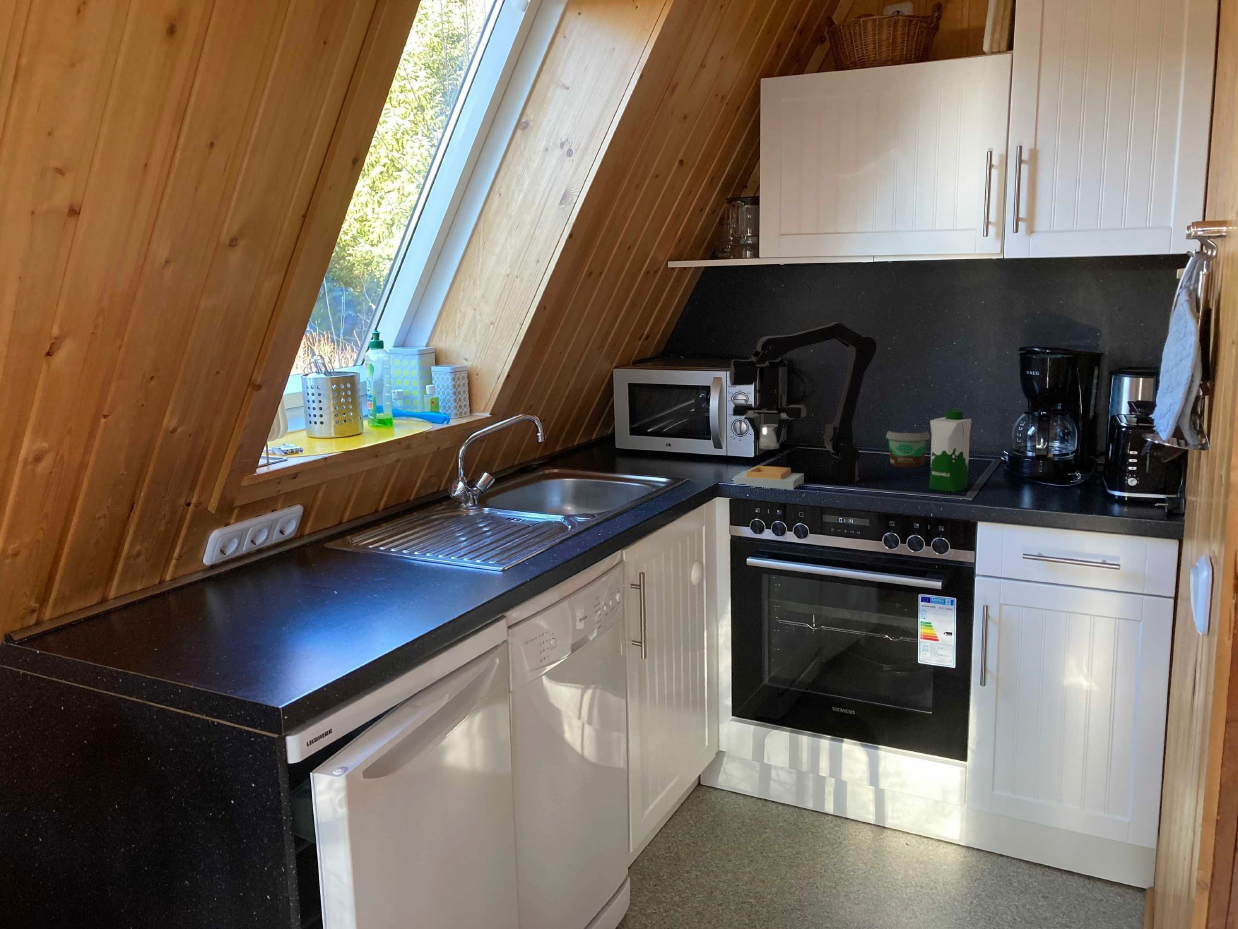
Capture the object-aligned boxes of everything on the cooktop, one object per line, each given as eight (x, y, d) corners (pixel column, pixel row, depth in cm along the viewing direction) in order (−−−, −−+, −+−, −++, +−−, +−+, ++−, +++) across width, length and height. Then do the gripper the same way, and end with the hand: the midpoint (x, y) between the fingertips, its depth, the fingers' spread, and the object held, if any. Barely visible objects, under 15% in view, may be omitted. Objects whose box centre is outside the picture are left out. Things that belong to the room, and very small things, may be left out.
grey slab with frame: (803, 482, 271) (803, 468, 271) (793, 490, 262) (793, 475, 261) (745, 478, 278) (745, 464, 278) (733, 486, 269) (733, 471, 268)
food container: (886, 467, 290) (887, 433, 289) (885, 464, 296) (886, 430, 294) (931, 468, 288) (932, 433, 286) (928, 464, 294) (929, 430, 292)
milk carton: (972, 487, 260) (975, 411, 257) (955, 493, 254) (958, 414, 250) (940, 483, 266) (943, 408, 263) (923, 489, 260) (926, 412, 256)
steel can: (781, 446, 270) (781, 424, 269) (775, 449, 265) (775, 427, 264) (762, 445, 272) (762, 423, 271) (756, 448, 267) (756, 426, 266)
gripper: (811, 382, 269) (811, 439, 272) (745, 380, 277) (745, 436, 280) (800, 386, 259) (800, 446, 262) (731, 384, 267) (732, 442, 270)
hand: (769, 442), depth 268 cm, fingers closed on steel can, 5 cm apart
